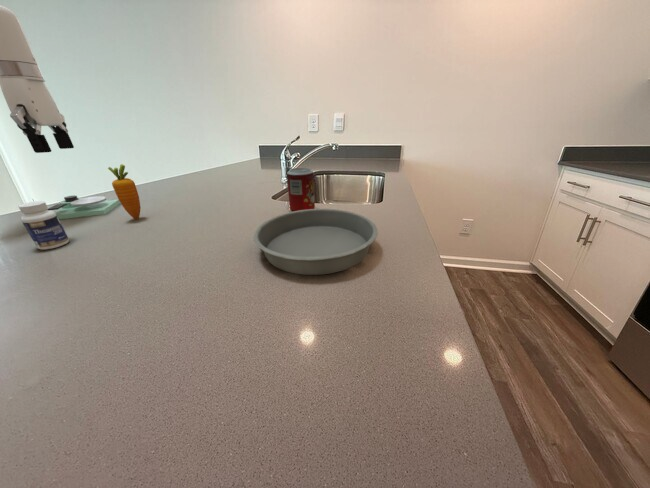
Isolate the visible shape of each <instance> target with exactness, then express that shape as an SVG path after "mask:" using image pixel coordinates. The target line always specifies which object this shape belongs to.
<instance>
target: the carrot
mask: <svg viewBox="0 0 650 488" xmlns="http://www.w3.org/2000/svg"><path fill="white" fill-rule="evenodd" d="M107 169H108V170H109V171H110V172H111V173H112V174H113V175H114V176H115V178H117V179H115V180H113V181H112V182H111V185H112V188H113V190H114V193H115V195H116V197H117V199H119V201H120V204H121V206H122V208H123V209H124V210H125V211H126V213H128V215H129V216H130V217H131V218H132V219H134V220H136V221H137V220H139V219H140V215H141V200H140V195H139V192H138V189H137V186H136V183H135V181H134V180H133V179H131V178H130V177H127V175H128V174H129V172H128V171H126V172H125V169H126V165H125V164H120V165H119V168H118V167H114V168H112V167H110V166H108V167H107Z"/></svg>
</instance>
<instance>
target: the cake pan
mask: <svg viewBox="0 0 650 488" xmlns="http://www.w3.org/2000/svg"><path fill="white" fill-rule="evenodd" d="M378 234H379V233H378V228H377V225H376V224H375V223H374V222H373V221H372V220H371V219H370V218H368V217H365V216H364V215H361V214H359V213H356V212H352V211H347V210H343V209H335V208H314V209H308V210H299V211H294V212H292V211H289V212H286V213H282V214H279V215H276V216H274V217H271V218H269V219H267V220H266V221H264V222H262V223H261V224H260V225H259V226H258V227H257V228H256V229H255V230H254V233H253V238H252V239H253V242H254V244H255V245H256V247H257V248H258V249H260V250H261V251H263V253H264V256H265V257H266V260H267V261H268V262H269V263H270V264H271V265H272V266H273V267H275V268H277V269H279V270H281V271H284V272H287V273H290V274H297V275H305V276H321V275H330V274H334V273H339V272H342V271H346V270H348V269H350V268H353V267H355V266H357V265H358V264H359V263H361V262H362V261H363V260H364V259H365V258H366V256H367V255H368V252H369V250H370V246H371V245H372V244H373V243H374V242H375V240H376V239H377V237H378Z"/></svg>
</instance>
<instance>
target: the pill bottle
mask: <svg viewBox="0 0 650 488" xmlns="http://www.w3.org/2000/svg"><path fill="white" fill-rule="evenodd" d="M18 208H19V211H20V212H21V213H22V214H23V215H21V217H20V221H21V223H22V225H23V226H24V228H25V230H26V231H27V233H28V235H29V237H30V238H31V240H32V242H33V243H34V245H35V247H36V248H37V249H38V250H41V251H44V250H50V249H51V250H52V249H56V248H59V247H62V246H65V245H67V244H68V243H69V242H70V238H69V236H68V234H67V232H66V230H65V229H64V227H63V225H62V223H61V221H60V219H58V217H57V215H56V213H55V210H47V209H48V208H49V207H48V205H47V203H46V201H44V200H43V201H42V200H39V201H30V202H26V203H22V204H19V205H18Z"/></svg>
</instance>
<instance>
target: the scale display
mask: <svg viewBox="0 0 650 488" xmlns="http://www.w3.org/2000/svg"><path fill="white" fill-rule="evenodd" d="M66 205H67V203H64V204H60V203H57V204H54V205H53V206H51V207H48V208H47V210H51V211H57V210H59V209H61V208H62V207H64V206H66Z"/></svg>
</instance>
